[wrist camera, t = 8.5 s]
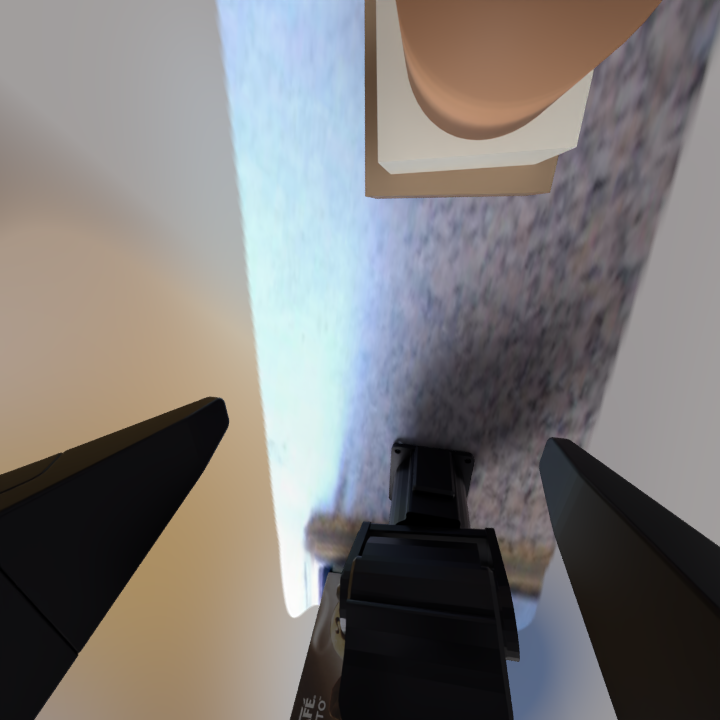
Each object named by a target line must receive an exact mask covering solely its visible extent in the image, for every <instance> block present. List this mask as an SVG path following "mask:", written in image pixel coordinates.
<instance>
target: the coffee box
mask: <svg viewBox="0 0 720 720" xmlns="http://www.w3.org/2000/svg"><path fill="white" fill-rule="evenodd" d="M340 577H341V574H339V573H331V572H329V573H328V576H327V580H326V584H325V587H324V591H323V595H322V599H321V603H320V607H319V610H318V614H317V618H316V622H315V626H314V629H313V633H312V637H311V641H310V645H309V649H308V652H307V657H306V660H305V664H304V668H303V672H302V675H301V679H300V683H299V687H298V691H297V694H296V698H295V702H294V706H293V710H292V714H291V717H290V720H342V719H341V714H340V709H339V703H338V697H339V689H340V681H341V673H342V665H343V656H344V647H345V634H344V633H343V632H342V629H341V625H340V616H339V601H338V599H337V596H336V592H337V587H338V585H339V584H340Z"/></svg>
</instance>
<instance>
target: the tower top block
mask: <svg viewBox="0 0 720 720" xmlns="http://www.w3.org/2000/svg"><path fill="white" fill-rule="evenodd" d="M376 40H377V123H378V163H379V164H380V165H381V166H382V167H383V168H384V169H386V170H387V171H388V172H389V173H390V174H404V173H418V172H433V171H447V170H462V169H476V168H491V167H505V166H520V165H534V164H537V163H540V162H542V161H544V160H547V159H549V158H552V157H554V156H556V155H559V154H561V153H564V152H566V151H568V150H571V149H573V148H576V146H577V142H578V137H579V133H580V129H581V124H582V120H583V115H584V111H585V107H586V102H587V98H588V93H589V89H590V85H591V80H592V76H593V71H594V69H593V70H592V71H591V72H589V73H588V74H587V75H586V76H585V77H583V78H582V79H581V80H580V81H579V82H578V83H576V84H575V85H574V86H573V87H572V88H571V89H569V90H568V91H567V92H566V93H565V94H563V95H562V96H561V97H560V98H559V99H558V100H556V101H555V102H554V103H553V104H552V105H551V106H549V107H548V108H547V109H546V110H545V111H543V112H542V113H541V114H540V115H539V116H538V117H536V118H535V119H534V120H532V121H531V122H529V123H528V124H526V125H525V126H523V127H521V128H519V129H518V130H516V131H514V132H512V133H509V134H506V135H504V136H501V137H497V138H493V139H487V140H467V139H463V138H458V137H456V136H453V135H451V134H448V133H446V132H445V131H443V130H441V129H440V128H438V127H437V126H436V125H435V124H434V123H433V122H431V120H430V119H429V118H428V117H427V116H426V115H425V114H424V112H423V111H422V109H421V107H420V106H419V104H418V103H417V100H416V98H415V96H414V94H413V92H412V89H411V85H410V82H409V79H408V74H407V69H406V63H405V57H404V51H403V44H402V38H401V32H400V26H399V19H398V13H397V7H396V1H395V0H376Z"/></svg>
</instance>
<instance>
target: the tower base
mask: <svg viewBox="0 0 720 720" xmlns="http://www.w3.org/2000/svg"><path fill="white" fill-rule="evenodd" d="M558 156H559V155H556V156H554V157H552V158H549V159H547V160H544V161H542V162H540V163H537V164H534V165H520V166H505V167H491V168H476V169H462V170H447V171H433V172H418V173H404V174H390V173H389V172H388V171H387V170H386V169H384V168H383V167H382V166H381V165H380V164H379V163H378V123H377V40H376V0H365V196H366V197H371V198H376V199H384V198H436V197H487V196H528V195H535V194H543V193H550V190H551V186H552V182H553V177H554V173H555V169H556V164H557V160H558Z"/></svg>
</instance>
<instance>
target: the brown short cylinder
mask: <svg viewBox="0 0 720 720" xmlns="http://www.w3.org/2000/svg"><path fill="white" fill-rule="evenodd" d="M395 1H396V7H397V13H398V19H399V26H400V32H401V38H402V44H403V51H404V57H405V63H406V69H407V74H408V79H409V82H410V85H411V89H412V92H413V94H414V96H415V98H416V100H417V103H418V104H419V106H420V107H421V109H422V111H423V112H424V114H425V115H426V116H427V117H428V118H429V119H430V120H431V122H433V123H434V124H435V125H436V126H437V127H438V128H440V129H441V130H443V131H445V132H446V133H448V134H451V135H453V136H456V137H458V138H463V139H467V140H487V139H493V138H497V137H501V136H504V135H506V134H509V133H512V132H514V131H516V130H518V129H519V128H521V127H523V126H525V125H526V124H528V123H529V122H531V121H532V120H534V119H535V118H536V117H538V116H539V115H540V114H541V113H542V112H543V111H545V110H546V109H547V108H548V107H549V106H551V105H552V104H553V103H554V102H555V101H556V100H558V99H559V98H560V97H561V96H562V95H563V94H565V93H566V92H567V91H568V90H569V89H571V88H572V87H573V86H574V85H575V84H576V83H578V82H579V81H580V80H581V79H582V78H583V77H585V76H586V75H587V74H588V73H589V72H591V71H592V70H593V69H594V68H595V67H596V66H598V65H599V64H600V63H601V62H602V61H603V60H605V59H606V58H607V57H608V56H609V55H610V54H612V53H613V52H614V51H615V50H616V49H617V48H619V47H620V46H621V45H622V44H623V43H624V42H625V41H626V40H627V39H628V38H629V37H630V36H631V35H632V34H633V33H634V32H635V31H636V30H637V29H638V28H639V27H640V26H641V25H642V24H643V23H644V22H645V21H646V20H647V18H648V17H649V16H650V15H651V13H652V12H653V11H654V10H655V9H656V7H657V6H658V5H659V4H660V3H661V1H662V0H395Z"/></svg>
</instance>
